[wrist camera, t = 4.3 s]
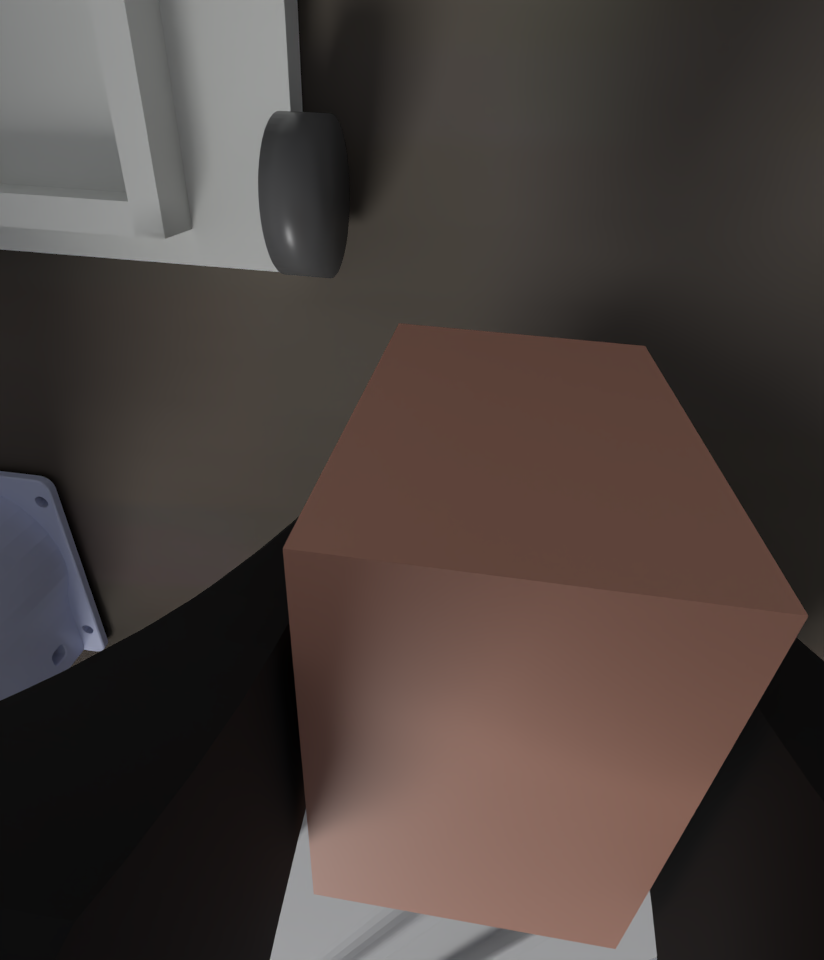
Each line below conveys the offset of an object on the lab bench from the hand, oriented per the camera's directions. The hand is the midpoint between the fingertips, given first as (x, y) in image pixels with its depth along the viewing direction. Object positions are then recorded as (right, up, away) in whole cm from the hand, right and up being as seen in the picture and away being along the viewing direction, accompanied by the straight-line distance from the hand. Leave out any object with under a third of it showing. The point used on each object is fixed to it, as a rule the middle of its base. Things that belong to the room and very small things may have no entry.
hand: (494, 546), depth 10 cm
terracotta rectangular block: (0, +1, +1) cm, 2 cm away
